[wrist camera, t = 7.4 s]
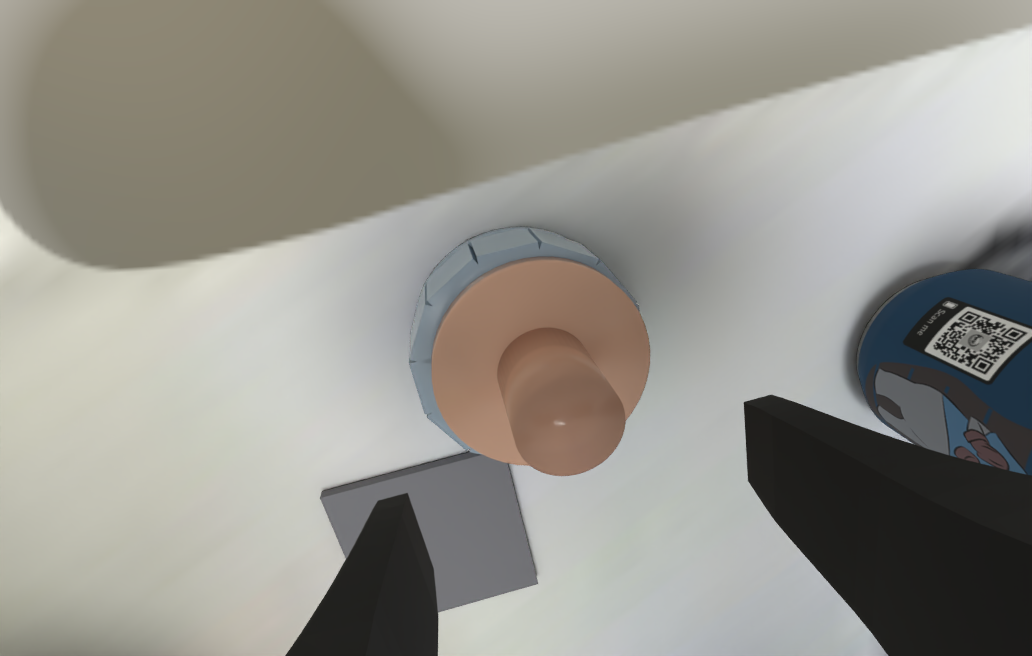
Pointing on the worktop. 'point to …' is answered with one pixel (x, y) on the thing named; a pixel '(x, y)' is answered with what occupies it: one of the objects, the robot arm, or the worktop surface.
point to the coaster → (450, 524)
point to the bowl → (465, 269)
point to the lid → (541, 364)
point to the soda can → (955, 366)
